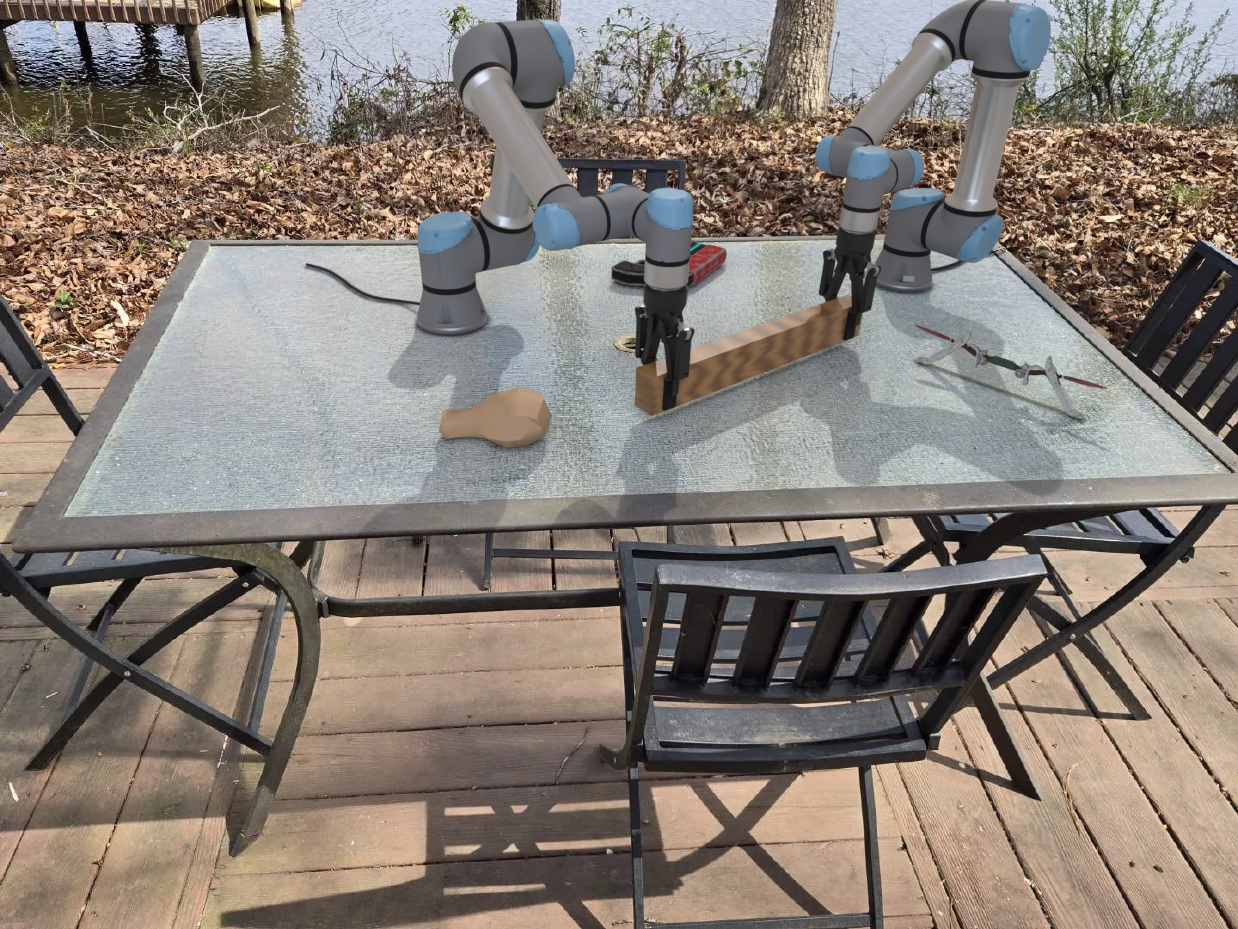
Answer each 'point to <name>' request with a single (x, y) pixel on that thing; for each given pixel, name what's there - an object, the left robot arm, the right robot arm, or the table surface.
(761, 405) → the table surface
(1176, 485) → the table surface
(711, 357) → the post
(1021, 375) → the bow
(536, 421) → the squash
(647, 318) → the left robot arm
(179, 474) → the table surface
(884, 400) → the table surface
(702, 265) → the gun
